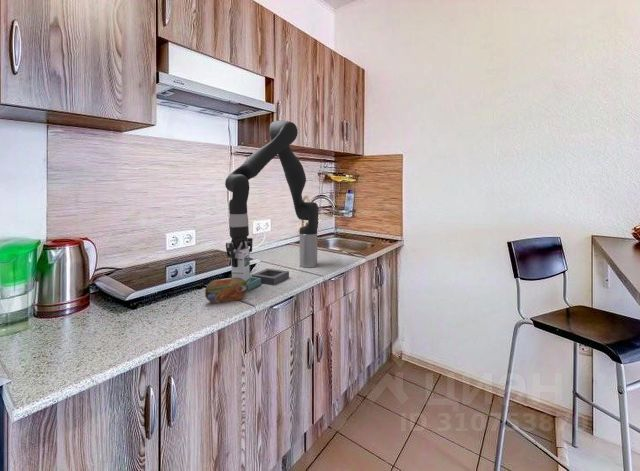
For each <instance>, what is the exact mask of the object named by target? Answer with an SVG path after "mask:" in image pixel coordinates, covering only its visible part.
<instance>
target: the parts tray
mask: <svg viewBox="0 0 640 471" xmlns="http://www.w3.org/2000/svg"><path fill="white" fill-rule="evenodd" d="M247 285H248V291H247V293H248V292H250V291H252V290H254V289H255V288H258V287H260V286H262V283H261V278H256V277H251V281H250V282H248V283H247Z"/></svg>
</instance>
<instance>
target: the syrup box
mask: <svg viewBox="0 0 640 471" xmlns="http://www.w3.org/2000/svg"><path fill="white" fill-rule="evenodd" d="M249 249H250V247H249V248H247V249H246V248H244V249H241V250H240V251H239V253H238V256H237V261H238V267H232V259H231V258H230V267H231V278H234V277H239V278H241V279H243V280H244V281H245V282H246V283H248V282H250V281H251V275H252V274H251V262H250V258H251V257H250V254H249ZM234 250H235V249H234ZM230 254H231V253H230ZM234 255H235V252H234Z"/></svg>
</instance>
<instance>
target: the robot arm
mask: <svg viewBox="0 0 640 471" xmlns="http://www.w3.org/2000/svg"><path fill="white" fill-rule="evenodd" d="M268 132H269V136H270V139H271V141H269V142H268V143H267V144H265V145H263V146H262V147H259V148H258V149H256V151H254V152H252V154H250V155H249V156H248V158H246V160H245V161H244V162H243V163H242V164H241V165H240V166H238V167H237V168H236V169H235V170H233V171H232V172H231V173H230V174H229V175H228V176H227V177H226V179H225V183H224V185H225V186H224V187H225V188H226V190H227V191H229V192H231V193H232V197H231V199H230V200H229V202H228V212H229V214H228V215H229V216H228V228H229V229H228V230H229V236H230V238H231V241H230V242H226V243H225V249H226V256H227V258H230V260H231V259H232V267H238V261H237V256H238V253H239V251H240V250H241V249H244V248H246V249H247V248H249V255H250V253H252V252H253V238H252V237H249V235H250V231H249V230H250V229H249V226H250V224H249V216H248V199H249V194H250V181H249V180H251V179H253V178H255V177H256V176H258V175H259V173H260V172H261V171H262V170H263V169H264V168H265V167H266V166H267V165H268V164H269V163H270V162H271V161H272V160H273V159H274V158H275V157H276V156H278V158H279V161H280V165H281V167H282V169H283V174H284V176H285V180H286V182H287V185H288V188H289V191H290V194H291V199H292V203H293V206H294V207H293V208H294V211H295V215H296V217H297V219H298V220H302V221H307V224H306V225H304V226H301V227H300V228H299V230H298V231H299V232H298V234H299V235H298V236H299V266H300V267H302V268H315V267H317V266H318V229H319V214H320V212H319V206H318V203H317V202H314V201H313V202H311V201H309V202H308V201H304V200H303V191H304V189H305V186H306V182H307V176H306V172H305V169H304V167H303V165H302V163H301V162H300V160H299V158H298V157H297V155H295V153H294V152H293V150H292V148H291V147H290V145H291V144H293V143H294V142H295V140H296V139H297V137H298V126H297V125H296V124H295V123H294V122H292V121H288V120H273V121H272V122H271V123H270V125H269V131H268ZM234 249H235V250H234ZM234 252H235V255H234ZM230 253H231V254H230Z"/></svg>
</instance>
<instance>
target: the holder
mask: <svg viewBox="0 0 640 471" xmlns="http://www.w3.org/2000/svg"><path fill="white" fill-rule="evenodd" d="M250 275H251V277H256V278H261V284H263V285H270V286H276V285H278V284H280V283H282V282H283V281H287V279H290V272H289V270H281V269H280V270H279V269H273V268H264V269H262V270H260V271H257V272H254V273H252V274H250Z"/></svg>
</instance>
